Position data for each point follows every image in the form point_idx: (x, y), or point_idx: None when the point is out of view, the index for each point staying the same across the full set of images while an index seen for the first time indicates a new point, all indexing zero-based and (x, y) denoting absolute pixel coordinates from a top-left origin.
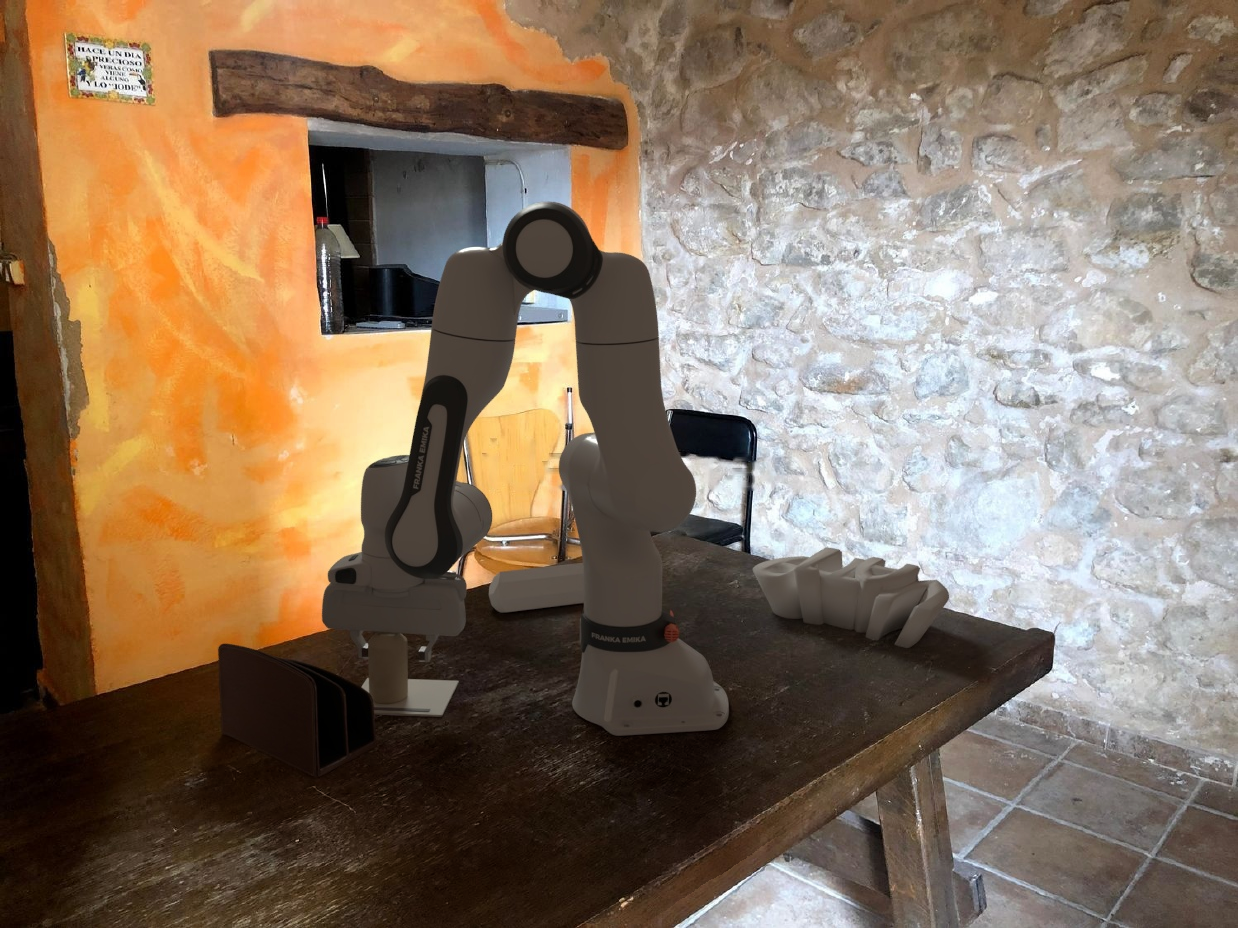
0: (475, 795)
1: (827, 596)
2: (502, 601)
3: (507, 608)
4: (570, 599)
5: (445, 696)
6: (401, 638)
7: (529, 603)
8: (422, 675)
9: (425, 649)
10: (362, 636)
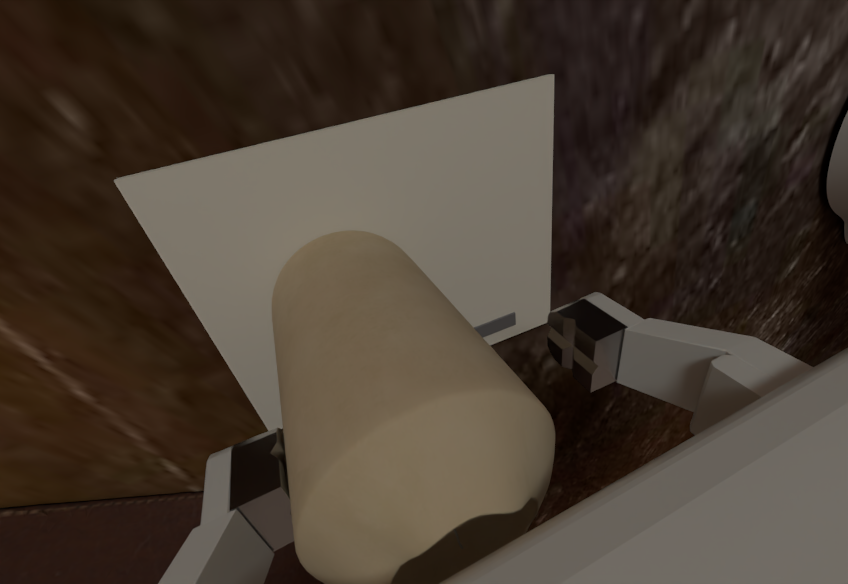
0: (631, 465)
1: None
2: None
3: None
4: None
5: (535, 223)
6: (548, 485)
7: None
8: (369, 34)
9: (632, 387)
10: (203, 581)
